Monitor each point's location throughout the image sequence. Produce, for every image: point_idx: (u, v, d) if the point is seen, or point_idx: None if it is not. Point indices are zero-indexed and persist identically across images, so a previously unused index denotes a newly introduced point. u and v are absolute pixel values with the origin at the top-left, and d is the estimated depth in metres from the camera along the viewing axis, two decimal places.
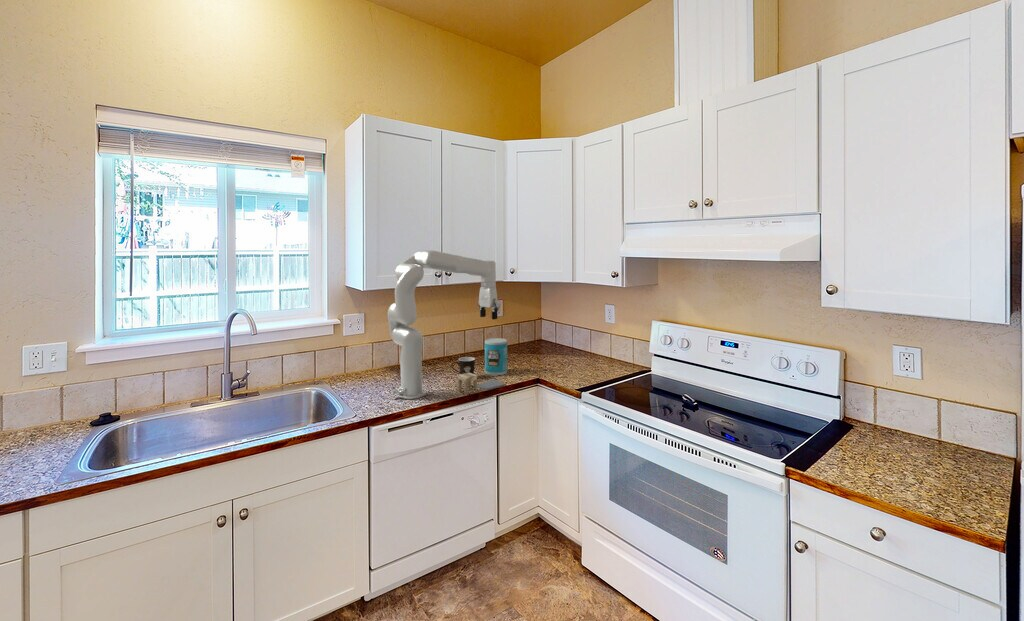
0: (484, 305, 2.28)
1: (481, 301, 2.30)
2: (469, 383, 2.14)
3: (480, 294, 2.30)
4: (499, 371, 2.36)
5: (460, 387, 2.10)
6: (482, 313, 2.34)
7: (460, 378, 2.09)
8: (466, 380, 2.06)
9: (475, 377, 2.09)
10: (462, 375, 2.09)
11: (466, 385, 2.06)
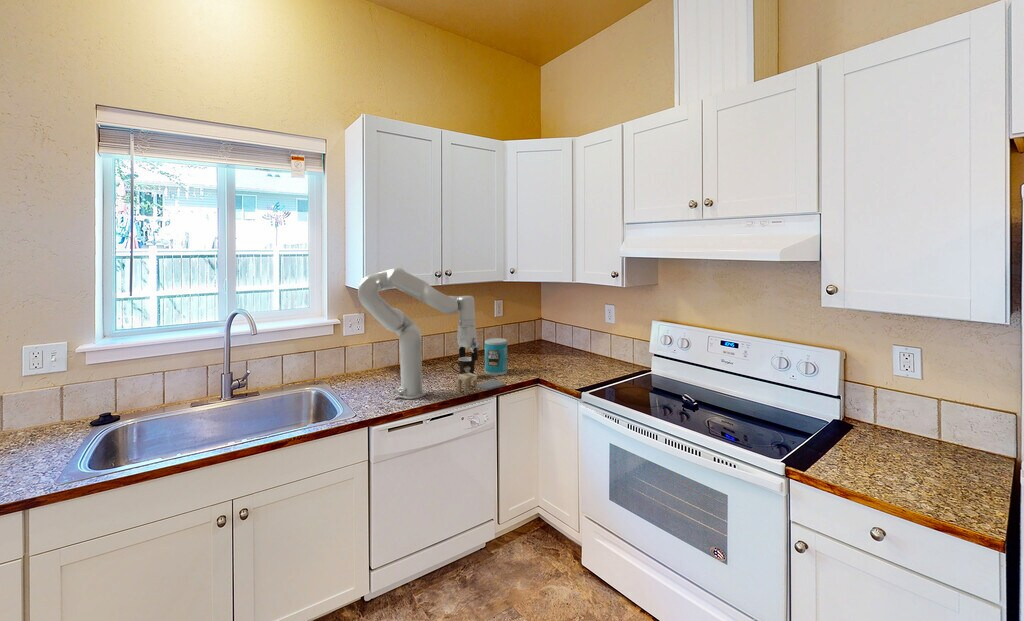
0: (463, 345, 2.06)
1: (459, 340, 2.07)
2: (469, 383, 2.14)
3: (458, 333, 2.08)
4: (499, 371, 2.36)
5: (460, 387, 2.10)
6: (461, 353, 2.11)
7: (460, 378, 2.09)
8: (466, 380, 2.06)
9: (475, 377, 2.09)
10: (462, 375, 2.09)
11: (466, 385, 2.06)
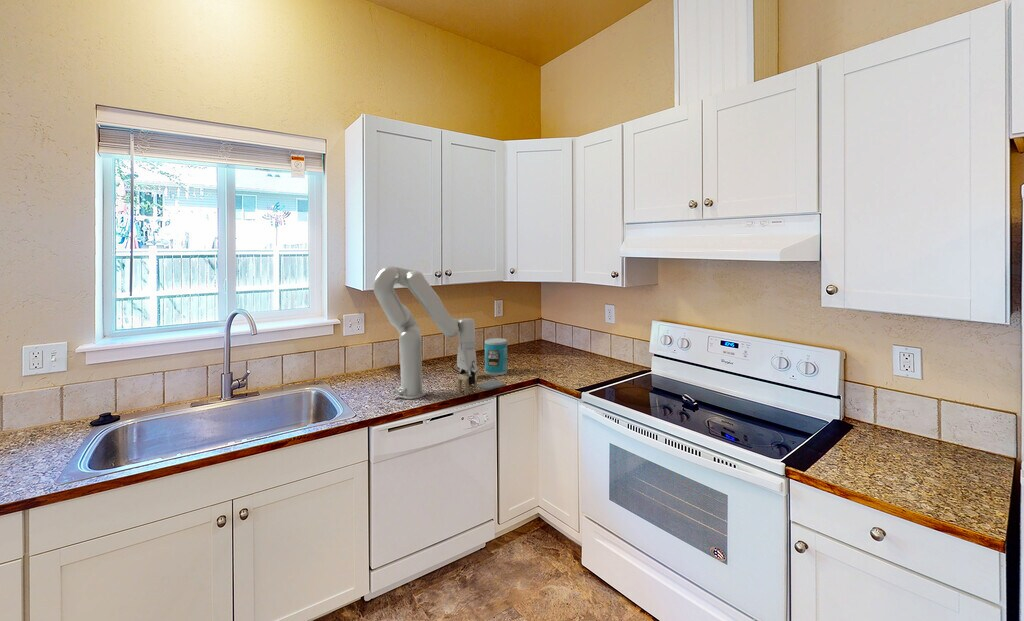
0: (462, 367, 2.07)
1: (459, 362, 2.09)
2: None
3: (458, 355, 2.09)
4: (499, 371, 2.36)
5: (460, 387, 2.10)
6: None
7: (460, 378, 2.09)
8: (466, 380, 2.06)
9: (475, 377, 2.09)
10: (462, 375, 2.09)
11: (466, 385, 2.06)
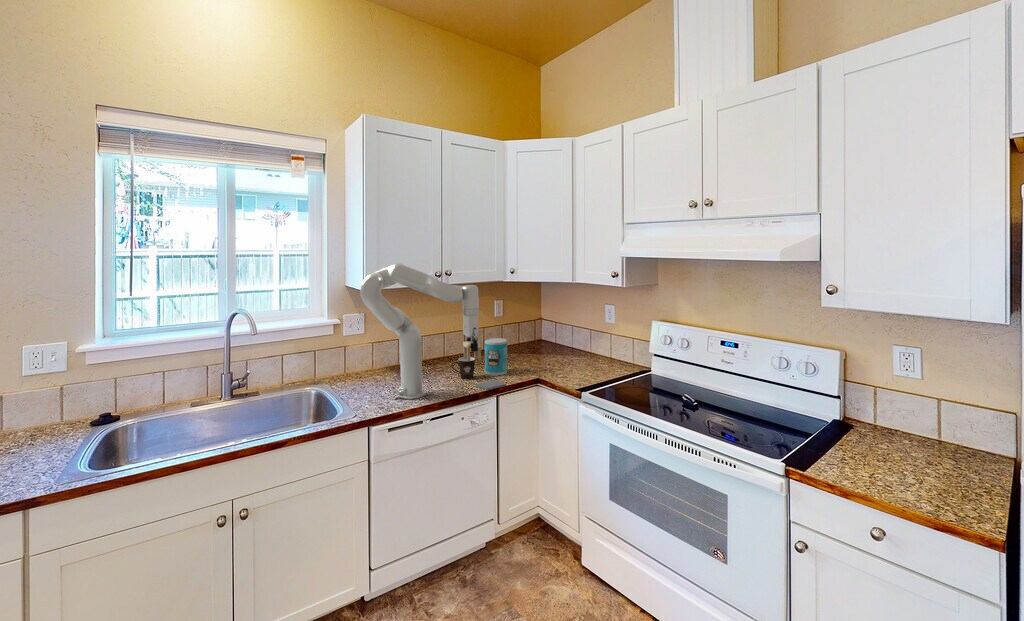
0: (465, 334, 2.07)
1: (464, 329, 2.09)
2: (475, 351, 2.13)
3: (463, 321, 2.10)
4: (499, 371, 2.36)
5: (465, 354, 2.11)
6: None
7: (464, 345, 2.09)
8: (468, 347, 2.05)
9: (478, 345, 2.07)
10: (467, 342, 2.09)
11: (468, 352, 2.06)
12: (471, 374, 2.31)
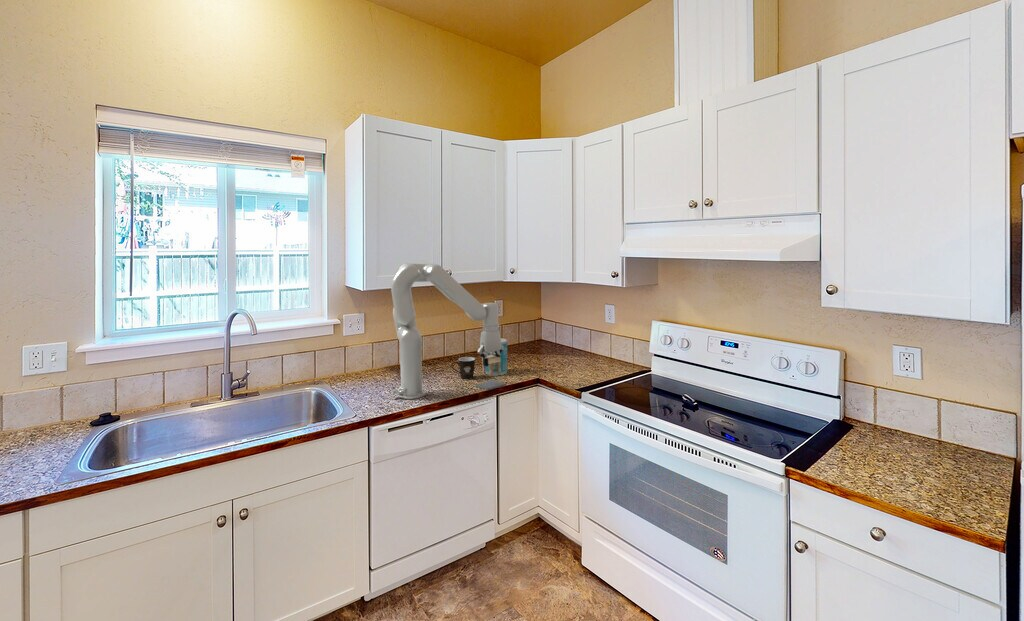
0: None
1: None
2: (498, 367, 2.18)
3: None
4: None
5: None
6: None
7: None
8: (482, 360, 2.18)
9: (489, 361, 2.14)
10: (490, 356, 2.20)
11: (482, 364, 2.19)
12: (471, 374, 2.31)
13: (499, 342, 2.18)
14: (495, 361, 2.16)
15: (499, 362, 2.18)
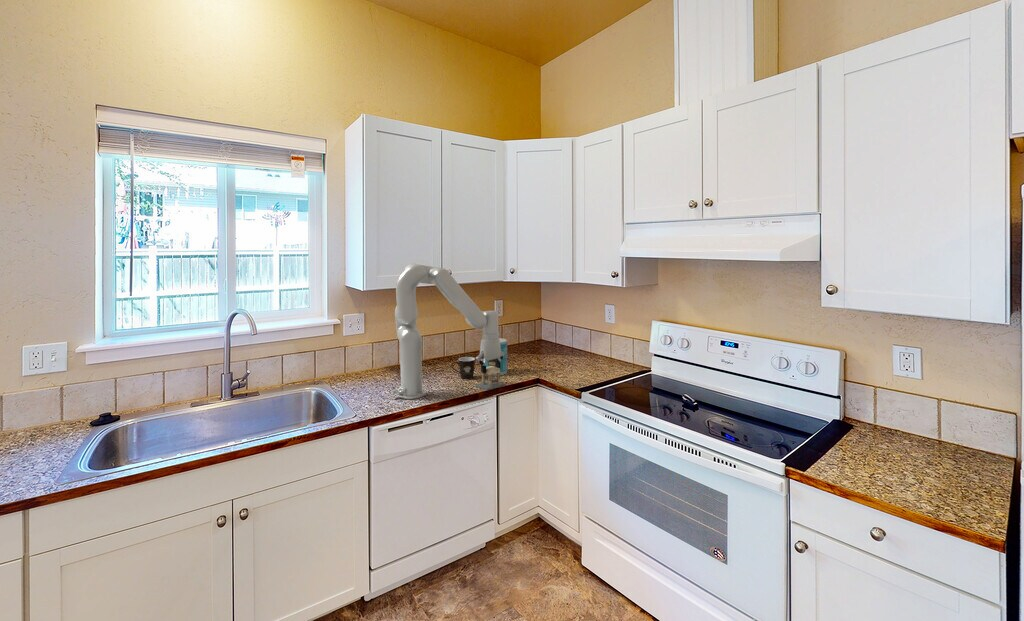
0: None
1: None
2: (497, 378, 2.19)
3: None
4: None
5: None
6: (496, 365, 2.22)
7: None
8: None
9: (488, 372, 2.15)
10: (490, 367, 2.21)
11: (482, 375, 2.19)
12: (471, 374, 2.31)
13: (499, 350, 2.18)
14: (495, 372, 2.16)
15: (498, 373, 2.18)
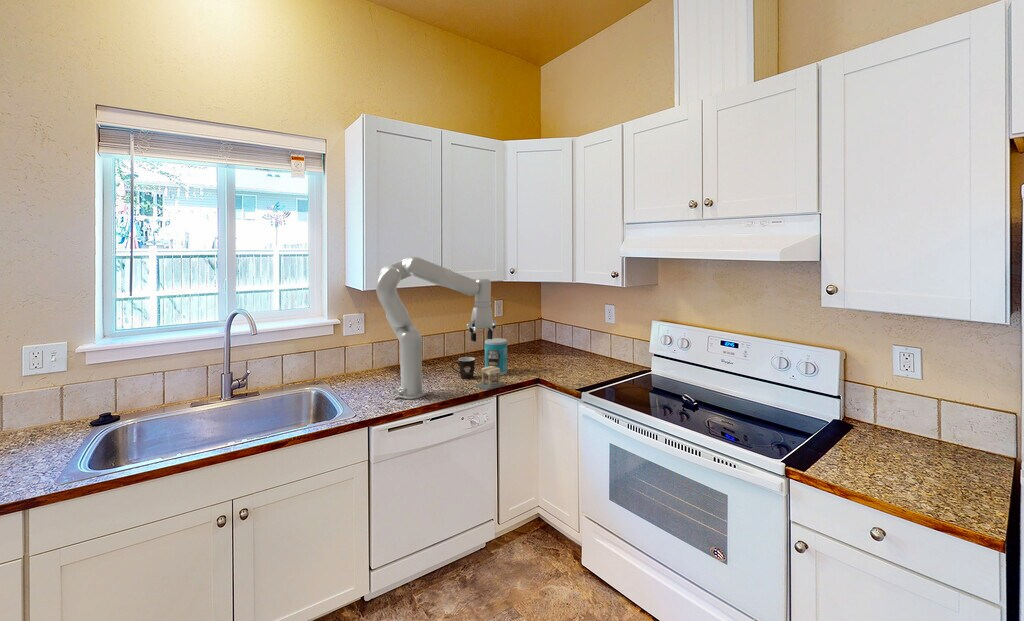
0: None
1: None
2: (497, 378, 2.19)
3: None
4: None
5: None
6: (488, 335, 2.19)
7: None
8: (482, 370, 2.19)
9: (488, 372, 2.15)
10: (490, 367, 2.21)
11: (482, 375, 2.19)
12: (471, 374, 2.31)
13: (490, 319, 2.15)
14: (495, 372, 2.16)
15: (498, 373, 2.18)
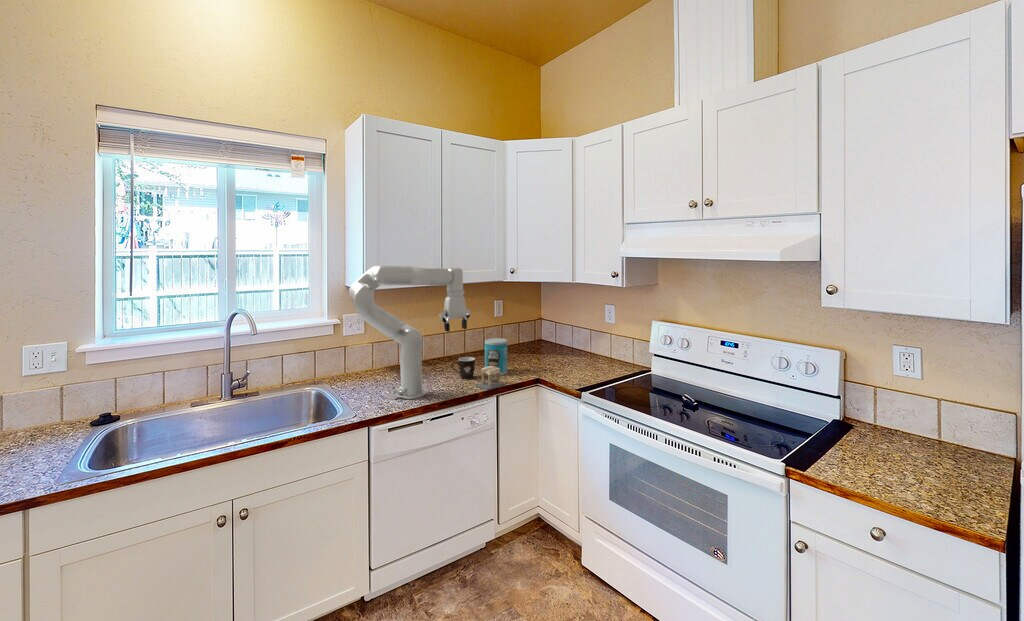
0: None
1: None
2: (497, 378, 2.19)
3: None
4: None
5: None
6: (462, 324, 2.17)
7: None
8: (482, 370, 2.19)
9: (488, 372, 2.15)
10: (490, 367, 2.21)
11: (482, 375, 2.19)
12: (471, 374, 2.31)
13: (464, 309, 2.13)
14: (495, 372, 2.16)
15: (498, 373, 2.18)
